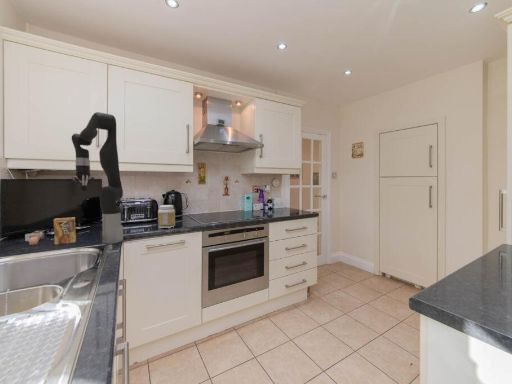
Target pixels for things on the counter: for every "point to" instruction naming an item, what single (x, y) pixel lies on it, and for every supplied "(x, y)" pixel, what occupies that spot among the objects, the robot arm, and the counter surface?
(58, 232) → the candy box
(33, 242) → the link
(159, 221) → the supplement tub
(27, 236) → the steel keeper
